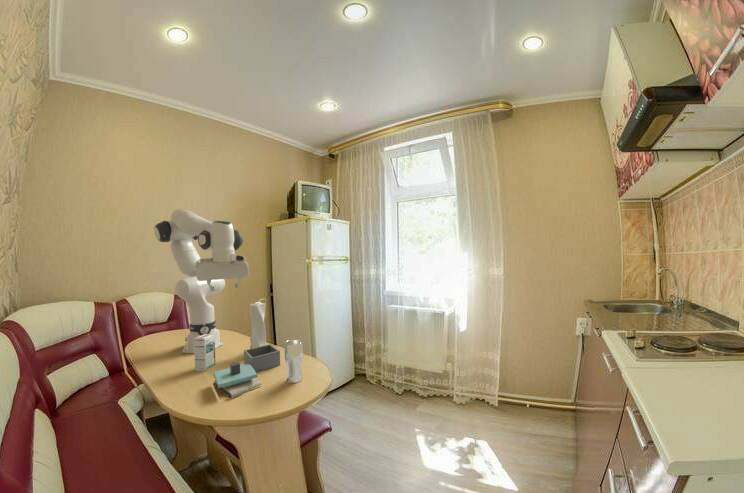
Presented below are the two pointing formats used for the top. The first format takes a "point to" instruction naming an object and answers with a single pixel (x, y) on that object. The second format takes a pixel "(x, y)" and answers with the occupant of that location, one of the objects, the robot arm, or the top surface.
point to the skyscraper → (258, 324)
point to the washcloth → (242, 388)
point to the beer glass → (294, 360)
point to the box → (262, 357)
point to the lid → (234, 375)
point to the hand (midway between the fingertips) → (224, 289)
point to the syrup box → (204, 352)
